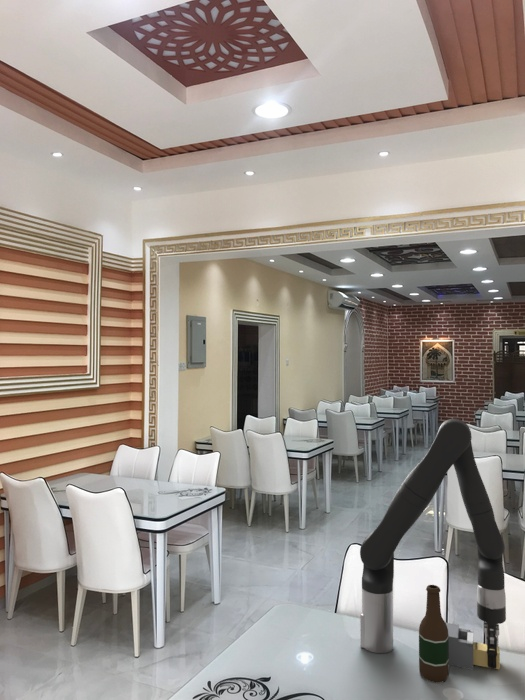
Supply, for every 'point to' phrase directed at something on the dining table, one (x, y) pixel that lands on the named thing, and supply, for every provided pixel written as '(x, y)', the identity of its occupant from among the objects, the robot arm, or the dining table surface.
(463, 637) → the dispenser
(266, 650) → the dining table surface
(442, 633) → the beer bottle
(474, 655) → the yellow rectangular block
